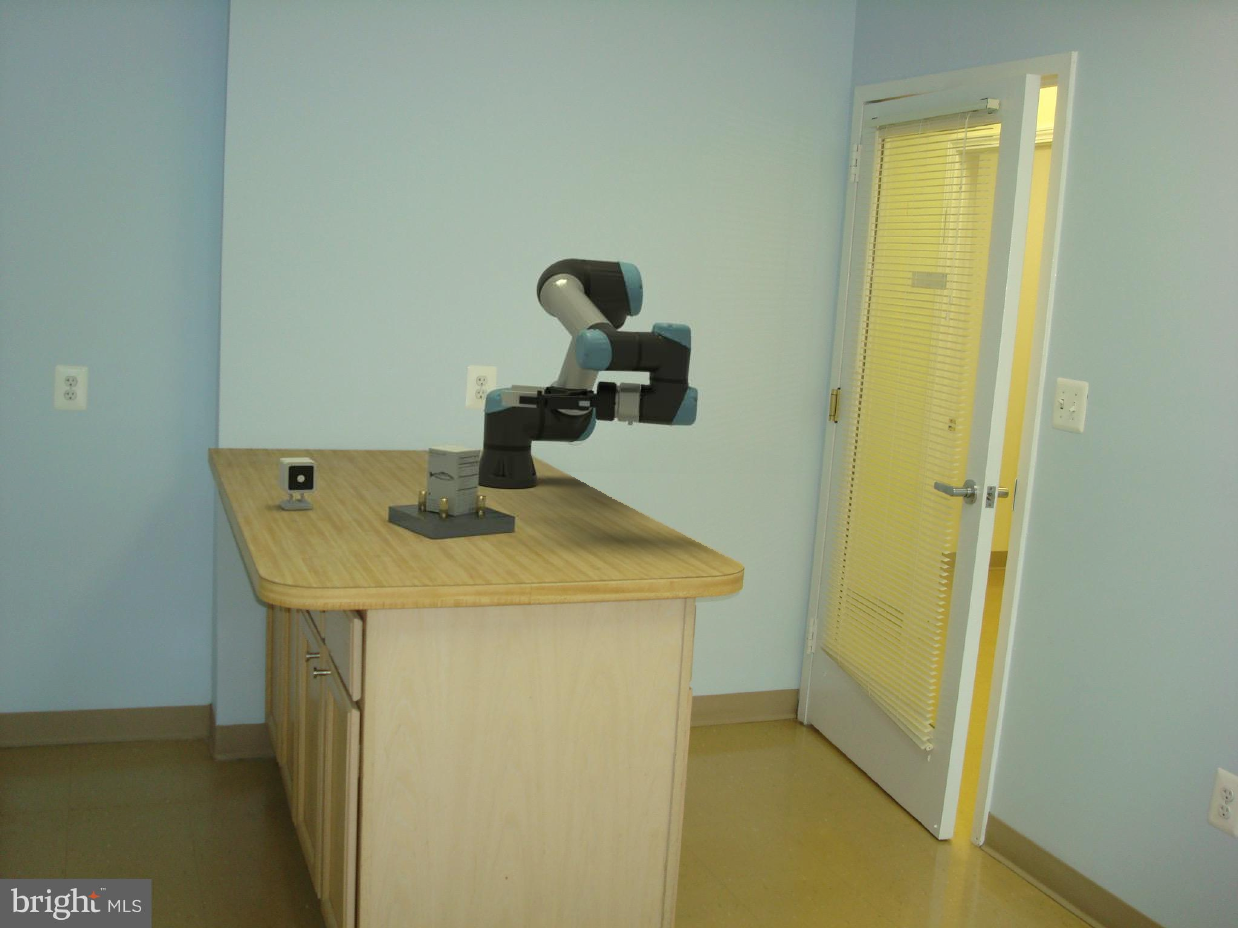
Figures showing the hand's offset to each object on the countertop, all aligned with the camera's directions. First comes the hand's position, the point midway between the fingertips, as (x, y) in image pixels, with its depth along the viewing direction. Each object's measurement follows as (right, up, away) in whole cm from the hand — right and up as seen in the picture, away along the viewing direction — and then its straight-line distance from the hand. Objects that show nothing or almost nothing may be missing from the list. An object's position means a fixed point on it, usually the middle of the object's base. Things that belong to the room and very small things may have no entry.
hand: (506, 394), depth 223 cm
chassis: (-11, -26, +4) cm, 28 cm away
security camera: (-44, -23, +14) cm, 52 cm away
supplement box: (-11, -23, +4) cm, 26 cm away
